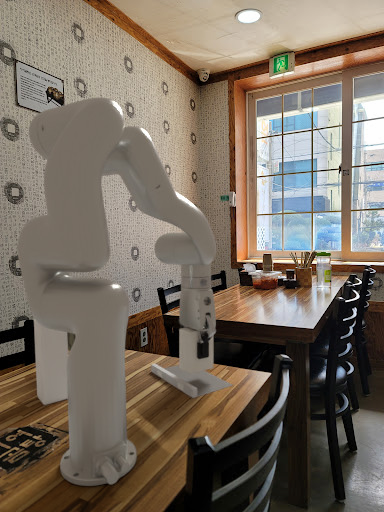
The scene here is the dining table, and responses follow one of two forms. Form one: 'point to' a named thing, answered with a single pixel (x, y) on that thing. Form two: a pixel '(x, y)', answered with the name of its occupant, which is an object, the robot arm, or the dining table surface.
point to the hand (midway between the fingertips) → (196, 354)
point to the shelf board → (190, 380)
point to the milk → (51, 364)
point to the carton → (193, 352)
